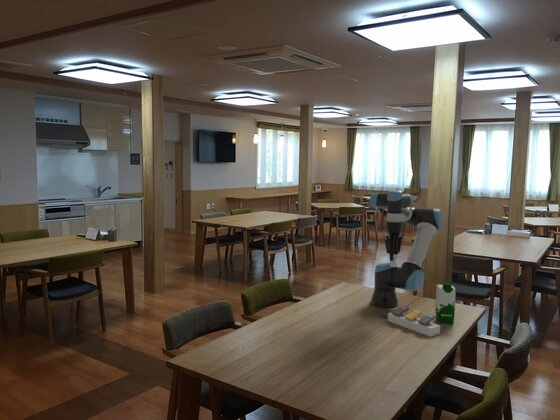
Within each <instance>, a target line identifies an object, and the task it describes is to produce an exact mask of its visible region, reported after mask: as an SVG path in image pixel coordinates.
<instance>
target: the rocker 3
mask: <svg viewBox="0 0 560 420" xmlns="http://www.w3.org/2000/svg"><path fill="white" fill-rule="evenodd" d="M435 319H436V315H434V314H430V313H428V314H426V315H424V316H422V317H421V318H420V320H418V323H419V324H422V325H427V324H428V323H430V322H432V321H434V320H435ZM436 320H437V319H436Z"/></svg>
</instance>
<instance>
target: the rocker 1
mask: <svg viewBox="0 0 560 420" xmlns="http://www.w3.org/2000/svg"><path fill="white" fill-rule="evenodd" d="M409 310H410V308H409V307H408V306H405V305H401V306H399V307H398V308H396V309H395V310H393V311H391V312H392V314H393V315H396V316H400V315H401V314H403V313H405V314H406V312H407V311H409Z"/></svg>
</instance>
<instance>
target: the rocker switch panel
mask: <svg viewBox="0 0 560 420" xmlns="http://www.w3.org/2000/svg"><path fill="white" fill-rule="evenodd" d="M392 312H393V311H391V312H388V313H386V312H383V311H380V312H379V313H380V315H383V316H386V317H387V322H390V323H393V324H395V325H397V326H400V327H402V328H406V329H408V330H410V331H411V330H412V331H414V332H417V333H419V334H422V335H424V336H427V337H431V338H432V337H434V336H437V335H440V334H441V325H440V324H439V323H438V324H437V323H434V322H432V321H431V322H430V323H428V324H427V325H422V324H419V323H418V320H420V319H421V318H419V317H416V318H415V319H413V320H412V321H410V320H407V319H405V317H404V316H406V315H407V314H408V313H406V312H405V313H403V314H401V315H400V316H396V315H393V314H392Z"/></svg>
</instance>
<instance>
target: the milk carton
mask: <svg viewBox="0 0 560 420" xmlns="http://www.w3.org/2000/svg"><path fill="white" fill-rule="evenodd" d="M435 292H436V293H435V294H436V295H435V316H436V320H437V322H438V324H446V325H449V324H451V325H452V324H455V323H454V321H455V316H456V315H455V311H456V288H455V286H453V284H452V283H451V282H443V283H442V284H436V291H435Z"/></svg>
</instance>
